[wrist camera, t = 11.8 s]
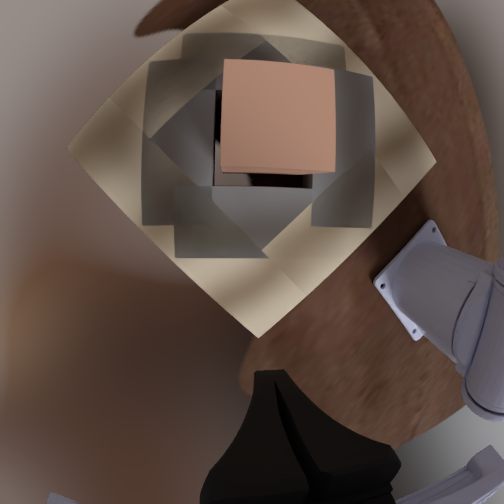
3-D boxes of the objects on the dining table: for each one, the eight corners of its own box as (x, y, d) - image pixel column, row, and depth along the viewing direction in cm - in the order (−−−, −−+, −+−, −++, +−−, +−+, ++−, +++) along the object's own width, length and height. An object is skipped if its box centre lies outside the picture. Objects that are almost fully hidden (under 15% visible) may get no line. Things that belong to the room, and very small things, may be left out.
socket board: (418, 162, 20) (436, 161, 18) (255, 321, 22) (258, 338, 20) (262, -4, 16) (266, -21, 13) (82, 151, 18) (65, 148, 15)
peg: (295, 108, 18) (334, 69, 11) (294, 175, 20) (335, 172, 12) (224, 104, 18) (224, 59, 10) (222, 173, 19) (219, 166, 11)
